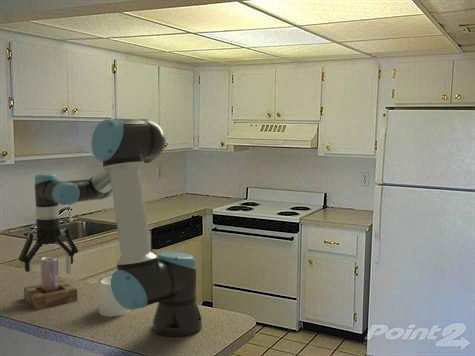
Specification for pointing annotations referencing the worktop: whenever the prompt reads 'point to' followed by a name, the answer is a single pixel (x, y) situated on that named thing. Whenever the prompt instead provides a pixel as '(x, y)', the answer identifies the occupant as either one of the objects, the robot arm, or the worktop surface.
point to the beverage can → (49, 274)
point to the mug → (109, 300)
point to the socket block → (50, 295)
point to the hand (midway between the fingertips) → (50, 276)
